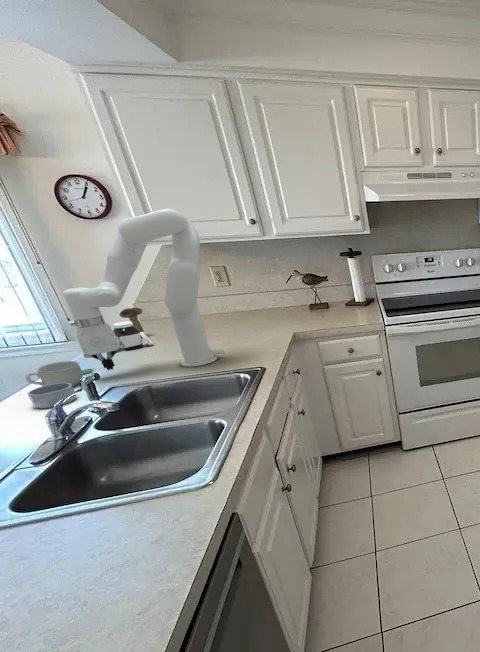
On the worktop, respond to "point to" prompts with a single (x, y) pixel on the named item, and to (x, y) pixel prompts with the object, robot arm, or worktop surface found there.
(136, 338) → the spread jar
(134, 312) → the mushroom
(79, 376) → the teacup
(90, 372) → the rag
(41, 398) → the grey bowl
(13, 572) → the worktop surface
